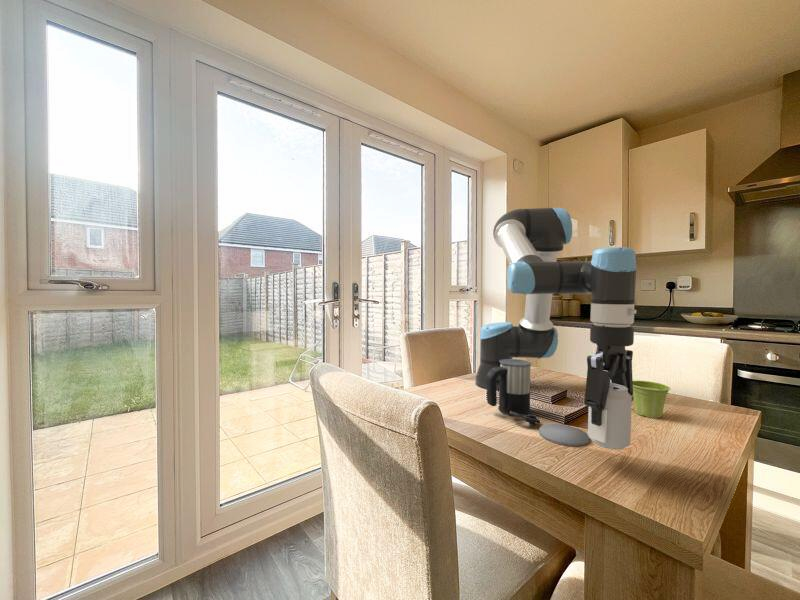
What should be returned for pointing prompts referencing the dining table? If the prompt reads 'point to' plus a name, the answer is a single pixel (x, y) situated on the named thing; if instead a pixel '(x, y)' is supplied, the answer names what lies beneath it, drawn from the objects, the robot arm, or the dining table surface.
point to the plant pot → (649, 398)
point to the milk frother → (511, 389)
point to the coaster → (564, 435)
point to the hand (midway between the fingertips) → (608, 434)
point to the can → (616, 418)
